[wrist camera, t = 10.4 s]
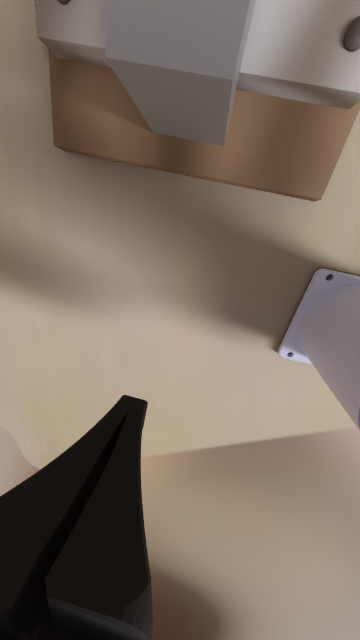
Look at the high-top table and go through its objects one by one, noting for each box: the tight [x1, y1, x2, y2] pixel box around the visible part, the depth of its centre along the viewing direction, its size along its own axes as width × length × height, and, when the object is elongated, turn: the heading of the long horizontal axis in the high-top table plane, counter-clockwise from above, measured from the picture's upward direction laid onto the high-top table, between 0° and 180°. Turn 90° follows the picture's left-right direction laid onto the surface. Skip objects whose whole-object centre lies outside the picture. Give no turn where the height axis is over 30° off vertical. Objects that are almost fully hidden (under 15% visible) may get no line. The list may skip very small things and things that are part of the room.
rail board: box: [35, 0, 360, 201], centre depth 11 cm, size 18×12×3 cm, turn 79°
